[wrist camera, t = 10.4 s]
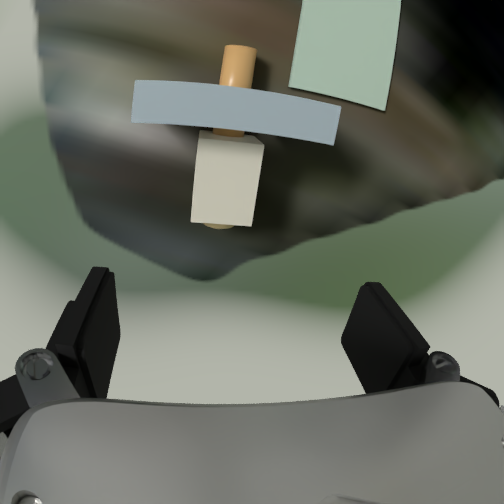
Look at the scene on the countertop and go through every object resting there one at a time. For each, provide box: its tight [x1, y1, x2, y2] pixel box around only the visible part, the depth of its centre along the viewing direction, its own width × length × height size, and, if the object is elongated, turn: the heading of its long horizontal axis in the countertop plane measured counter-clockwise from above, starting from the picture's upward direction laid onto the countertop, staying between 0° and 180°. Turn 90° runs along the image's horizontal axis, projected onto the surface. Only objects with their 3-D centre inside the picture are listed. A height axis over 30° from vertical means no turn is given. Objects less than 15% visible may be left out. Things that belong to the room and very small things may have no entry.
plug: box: [191, 45, 264, 229], centre depth 22 cm, size 14×4×5 cm, turn 171°
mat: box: [288, 0, 401, 111], centre depth 20 cm, size 18×9×1 cm, turn 171°
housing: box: [131, 80, 341, 145], centre depth 20 cm, size 2×12×8 cm, turn 82°
